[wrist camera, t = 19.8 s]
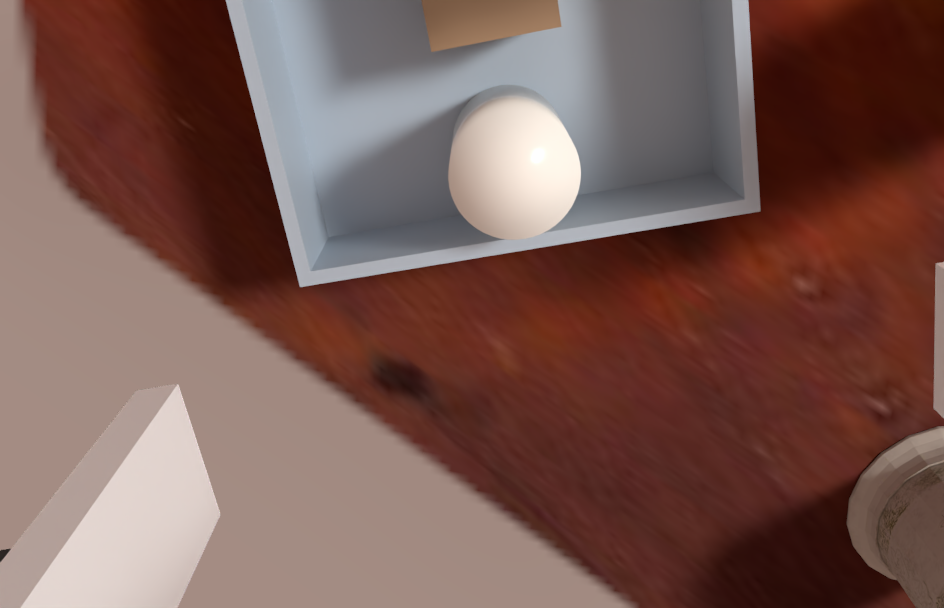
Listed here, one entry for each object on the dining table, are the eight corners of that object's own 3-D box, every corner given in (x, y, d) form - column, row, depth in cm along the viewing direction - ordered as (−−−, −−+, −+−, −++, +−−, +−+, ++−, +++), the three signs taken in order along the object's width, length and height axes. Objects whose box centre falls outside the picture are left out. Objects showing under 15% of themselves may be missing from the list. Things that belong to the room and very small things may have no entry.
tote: (237, -96, 37) (198, -106, 32) (697, -186, 36) (735, -211, 31) (321, 247, 42) (299, 287, 37) (724, 179, 41) (760, 211, 36)
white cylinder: (443, 95, 39) (437, 121, 33) (555, 75, 39) (571, 98, 32) (463, 203, 41) (460, 249, 35) (570, 185, 41) (588, 228, 34)
